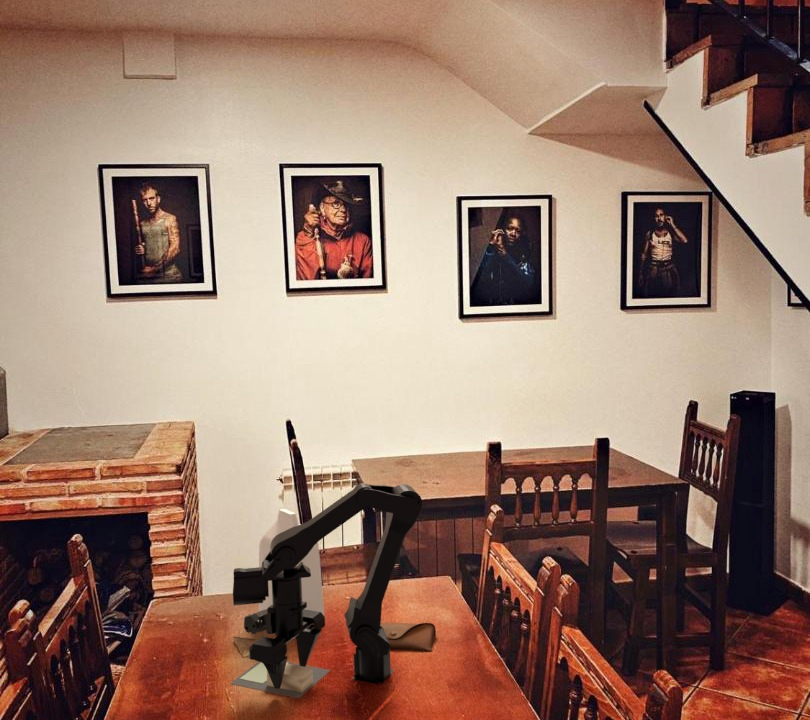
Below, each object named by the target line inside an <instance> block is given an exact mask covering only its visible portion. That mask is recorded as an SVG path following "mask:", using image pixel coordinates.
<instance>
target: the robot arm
mask: <svg viewBox="0 0 810 720" xmlns="http://www.w3.org/2000/svg"><path fill="white" fill-rule="evenodd" d="M423 502H424V501H423V500H422V498H421V495H419V493H418V492H417V491H416V490H415V489H414V488H413V487H412V486H411V485H409V484H406V483H405V484H404V483H403V484H401V483H400V484H398V485H395V486H391V485H385V484H368V483H364V482H363V483H361V482H360V483H359V484H357V485H356V486H355V487H354V488H353V489H351V491H348V492H347V493H346V494H345V495H343V496H342V497H340V498H339V499H338V500H336V501H335V502H333V503H332V504H330V505H329V506H328V507H326V508H325V509H323V510H322V511H321V512H319V513H318V514H317V515H315V516H313V517H312V518H310V519H309V520H307V522H306V521H305V522H304V523H302V524H301V525H298V526H295V527H292V528H290V529H288V530H286V531H284V532H282V533H279V534H278V535H276V536H275V537H274V538H273V540H272V542H271V546H270V552H269V553H268V555H267V556H266V558H265V559H264V561H263V562H262V567H259V566H258V567H249V568H244V567H238V568H236V567H235V568H234V569H233V582H232V583H233V585H232V586H233V587H232V602H233V603H232V604H233V606H234V607H235V606H244V605H245V606H246V605H252V604H253V605H254V604H259V603H263V601H264V600H266V597H269V591H268V581H272V600H273V604H272V605H271V606H269V607H268V609H266V610H262V611H259V610H258V611H259V612H258V611H257V612H254V613H251V614H247V615H245V616H244V617H243V618H244V619H243V620H244V621H243V629H244V630H245V632H246V633H248V634H250V633H251V635H253V636H254V635H256V634H257V633H260V632H264V631H265V632H266V634H268V635H273V634H274V636H275V637H274V638H272V637H267V636H262V637H260V638H259V639H257V640H258V641H256V642H255V643H253V644H252V645H251V646H250V647H249V657H248V658H249V659H250V660H253V661H255V662H257V663H258V662H262V663H263V664H264V666H265V667H266V669H267V671H268V674H269V676H270V678H271V681H272V683H273V686H274V688H277V689H279V688H280V687H281V683H282V680H283V675H284V671H285V666H286V662H288V656H286V655H287V652H288V646H287V644H288V643H290V642H291V641H292V640H294V639H295V640H296V648H297V658H298V664H300V666H303V667H306V666H307V664H308V662H309V659H310V656H311V655H312V652H313V650H314V648H315V645H316V642H317V641H318V640H319V639H318V638H319V636H320V635H321V633H322V631H323V628H324V627H325V626H326V617H324V616H325V614H324V615H323V614H322V613H321V612H317V611H311V610H304V609H305V608H306V607H307V602H303V601H302V582H301V578H305V577H310V576H311V572H310V568H308V567H307V566H305V565H304V564H303V562H301V561H302V560H303V559H304V558H305V557H306V556H307V554H308V553H309V552H310V551H311V549H312V548H313V547H314V545H315V544H316V543H319V542H320V541H321V540H322V539H324V538H325V537H326V536H328V535H329V534H331V533H332V532H333V531H335V530H336V529H338V528H339V527H341V526H342V525H343V524H344V523H346V522H348V521H350V520H351V519H352V518H353V517H354V516H356V515H358V513H360V512H362V511H363V510H364V509H366V508H371V509H375V510H379V511H383V512H386V514H385V526H384V531H383V533H382V536H381V539H380V541H379V544H378V547H377V550H376V553H375V556H374V559H373V561H372V565H371V568H370V571H369V573H368V576H367V579H366V581H365V585H364V587H363V590H362V592H361V594H360V595H359V596H358V598H354V597H352V596H351V597H350V599H349V604H348V607H347V610H346V611H345V613H344V614H343V615H344V619H345V625H346V628H347V632H348V637H349V639H350V641H351V643H353V644H354V646H355V645H356V646H355V652H354V653H353V672H354V676H353V677H352V680H353V681H354V680H355V681H360V682H365V683H370V684H375V685H383V683H385V682H386V680H387V679H388V678H389V677H390V676H391V675H392V674H393V673H394V671H395V669H392V668H391V650H390V643H389V641H388V638H387V636H386V634H385V631H384V629H383V627H382V626H381V625H380V623H382V622H381V621H382V607H383V602H384V598H385V594H386V592H387V590H388V586H389V583H390V581H391V577H392V575H393V572H394V569H395V566H396V564H397V561H398V557H399V556H400V552H401V549H402V545H403V543H404V540H405V537H406V536H407V534H408V533H409V532H410V531H411V529H412V528H413V527H414V525H415V524H416V522H417V520H418V519H419V517H420V515H421V513H422V511H423V507H424V503H423ZM299 563H300V564H299ZM298 564H299V565H298ZM297 565H298V566H297ZM295 566H296V567H295Z"/></svg>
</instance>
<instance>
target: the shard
mask: <svg viewBox="0 0 810 720" xmlns="http://www.w3.org/2000/svg"><path fill="white" fill-rule="evenodd" d="M232 638H233V642H234V643H235V645H236V647H237V649H238V650H239V654H240V655H241V657H242V658H249V647H250V646H251V645H252V644H253V643H255V642H256V641H258V640H259V639H256V638H248V637H239V636H233V637H232Z"/></svg>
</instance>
